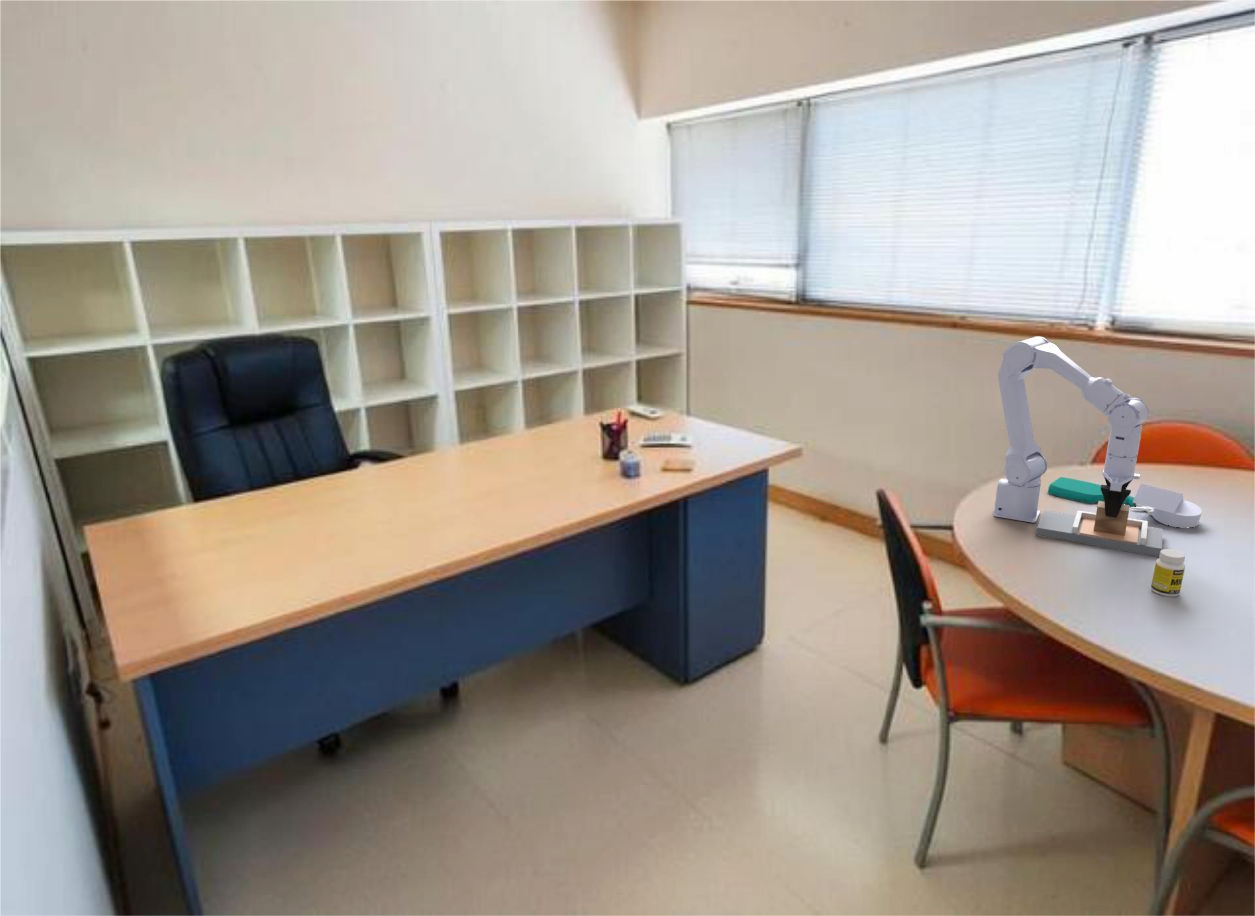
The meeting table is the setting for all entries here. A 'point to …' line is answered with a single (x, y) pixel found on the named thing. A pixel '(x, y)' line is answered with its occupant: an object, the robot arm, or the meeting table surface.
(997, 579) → the meeting table surface
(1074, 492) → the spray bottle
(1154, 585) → the supplement bottle
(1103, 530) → the brown rectangular block
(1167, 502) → the wedge on round base
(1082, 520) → the frame
